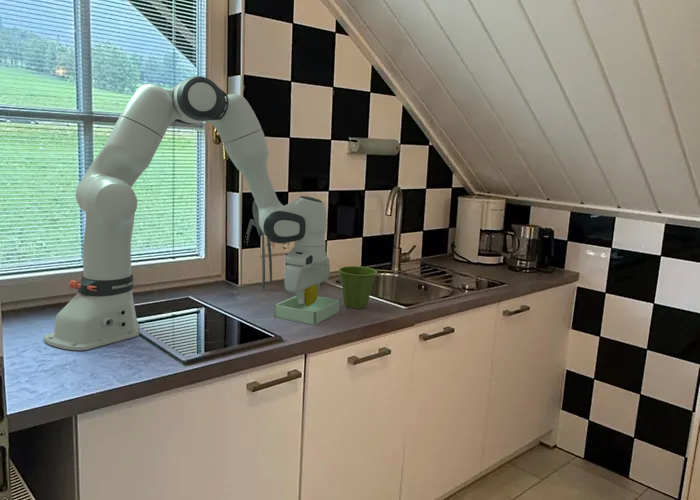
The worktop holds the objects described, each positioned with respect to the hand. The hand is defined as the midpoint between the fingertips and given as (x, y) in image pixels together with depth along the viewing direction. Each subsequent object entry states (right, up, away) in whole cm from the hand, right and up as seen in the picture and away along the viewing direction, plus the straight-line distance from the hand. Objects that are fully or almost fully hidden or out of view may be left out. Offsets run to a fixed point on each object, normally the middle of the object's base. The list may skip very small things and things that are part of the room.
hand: (307, 301), depth 171 cm
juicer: (-20, +2, +30) cm, 36 cm away
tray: (0, -4, +1) cm, 4 cm away
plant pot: (+14, -3, +12) cm, 18 cm away
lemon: (0, -2, 0) cm, 2 cm away
